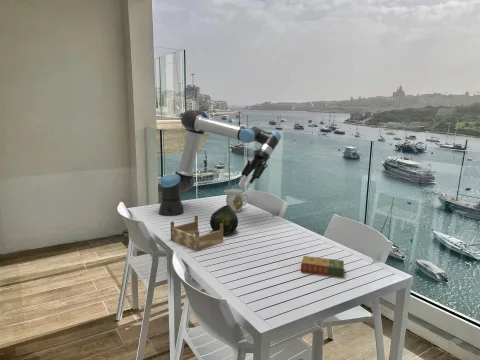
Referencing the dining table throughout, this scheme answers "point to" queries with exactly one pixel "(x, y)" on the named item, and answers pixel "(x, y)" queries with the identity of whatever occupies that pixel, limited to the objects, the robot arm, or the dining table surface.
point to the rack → (196, 242)
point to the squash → (224, 219)
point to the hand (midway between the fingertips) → (243, 186)
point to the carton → (322, 266)
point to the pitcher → (235, 199)
